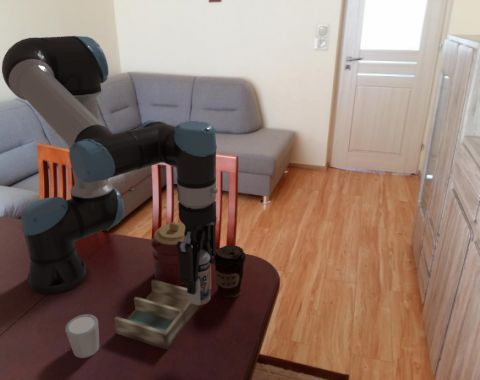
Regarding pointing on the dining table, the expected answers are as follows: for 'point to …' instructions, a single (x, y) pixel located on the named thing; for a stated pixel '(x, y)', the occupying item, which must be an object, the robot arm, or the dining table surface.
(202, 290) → the beer can
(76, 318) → the shot glass
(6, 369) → the dining table surface
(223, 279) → the coffee cup
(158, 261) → the canister
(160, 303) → the caddy
